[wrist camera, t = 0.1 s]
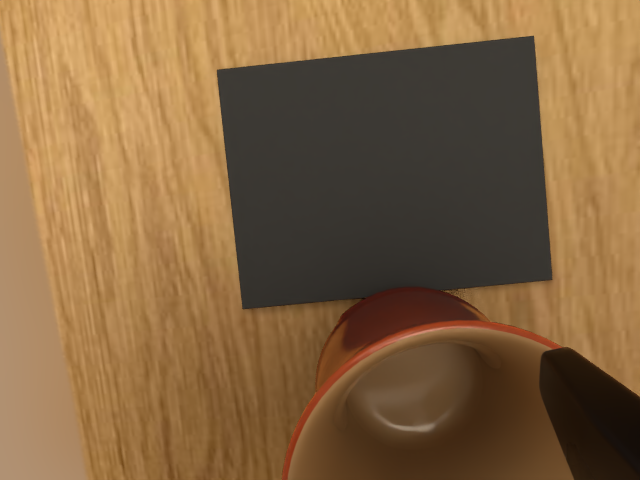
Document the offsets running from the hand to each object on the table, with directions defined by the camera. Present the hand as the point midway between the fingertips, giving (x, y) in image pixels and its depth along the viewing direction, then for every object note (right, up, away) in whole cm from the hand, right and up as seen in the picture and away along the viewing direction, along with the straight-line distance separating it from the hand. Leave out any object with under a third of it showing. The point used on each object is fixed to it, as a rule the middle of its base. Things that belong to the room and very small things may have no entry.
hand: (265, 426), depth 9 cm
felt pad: (+4, +6, +14) cm, 16 cm away
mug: (+5, -4, +15) cm, 16 cm away
